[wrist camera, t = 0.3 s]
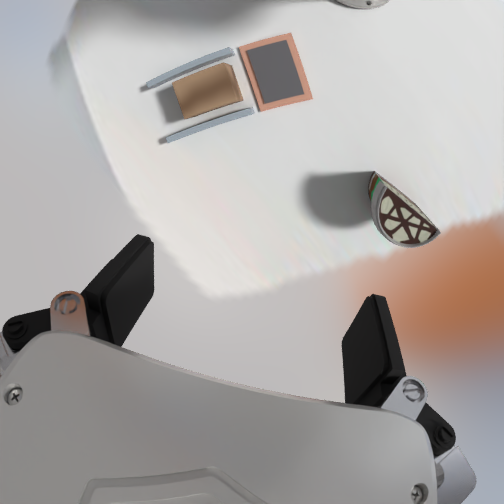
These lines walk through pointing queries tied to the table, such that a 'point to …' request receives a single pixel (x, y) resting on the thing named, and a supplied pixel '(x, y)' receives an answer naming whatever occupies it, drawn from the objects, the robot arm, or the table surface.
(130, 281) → the robot arm
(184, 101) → the walnut block
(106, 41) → the table surface
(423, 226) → the food container
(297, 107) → the table surface
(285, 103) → the pad
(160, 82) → the channel
